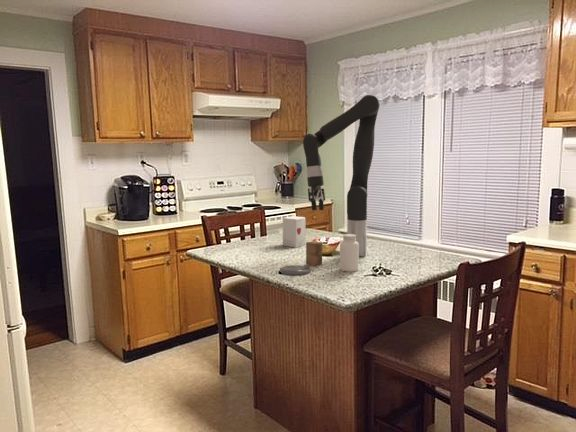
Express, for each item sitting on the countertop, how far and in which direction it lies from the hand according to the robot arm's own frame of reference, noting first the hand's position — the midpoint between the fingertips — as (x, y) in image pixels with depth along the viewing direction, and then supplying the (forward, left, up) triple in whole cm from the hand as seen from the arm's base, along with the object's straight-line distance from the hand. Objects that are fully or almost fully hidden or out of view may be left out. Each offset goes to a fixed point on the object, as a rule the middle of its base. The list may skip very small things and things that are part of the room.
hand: (318, 210), depth 227 cm
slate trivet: (+5, +31, -22) cm, 38 cm away
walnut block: (-1, +18, -22) cm, 28 cm away
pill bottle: (-17, +24, -22) cm, 37 cm away
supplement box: (+16, -21, -22) cm, 35 cm away
